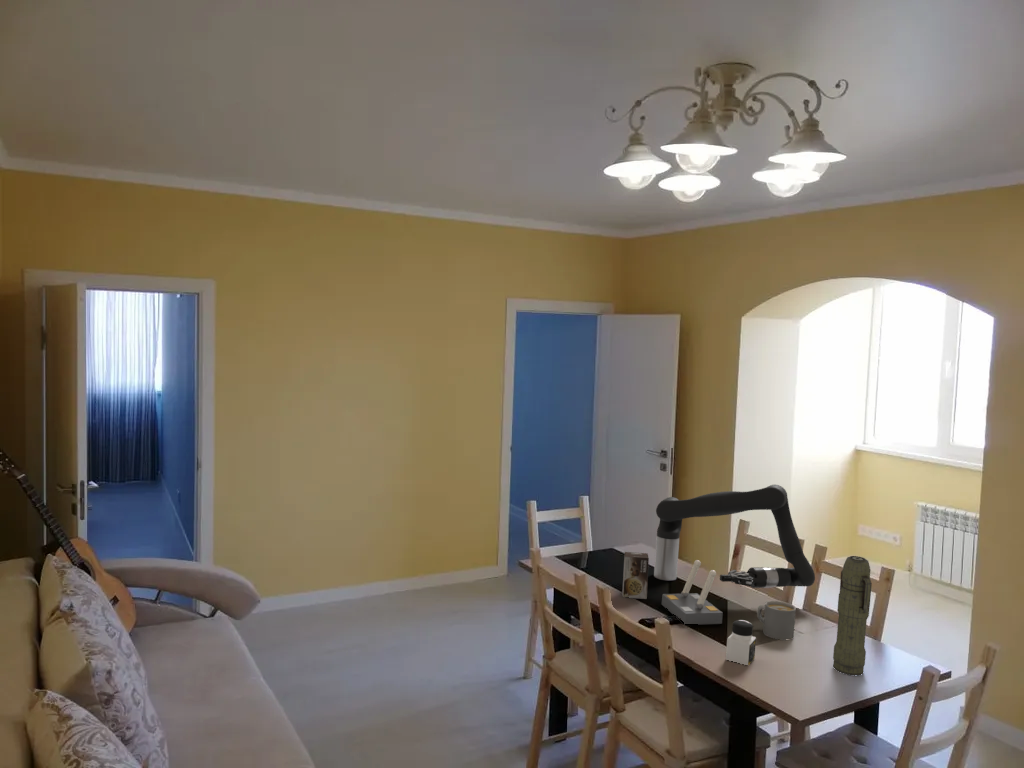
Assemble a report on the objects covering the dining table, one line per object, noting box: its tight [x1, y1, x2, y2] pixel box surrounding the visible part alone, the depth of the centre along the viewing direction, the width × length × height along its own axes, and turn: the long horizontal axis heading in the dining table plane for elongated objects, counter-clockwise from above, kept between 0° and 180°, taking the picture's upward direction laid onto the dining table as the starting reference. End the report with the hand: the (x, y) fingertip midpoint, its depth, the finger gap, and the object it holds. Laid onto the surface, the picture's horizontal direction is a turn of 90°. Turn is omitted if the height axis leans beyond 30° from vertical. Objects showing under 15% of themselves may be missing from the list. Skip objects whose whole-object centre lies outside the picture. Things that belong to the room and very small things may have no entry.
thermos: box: [832, 555, 873, 677], centre depth 237 cm, size 9×12×35 cm
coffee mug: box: [756, 600, 797, 641], centre depth 266 cm, size 13×10×10 cm
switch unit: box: [661, 592, 724, 625], centre depth 280 cm, size 20×14×4 cm
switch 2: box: [696, 569, 717, 609], centre depth 274 cm, size 2×2×14 cm
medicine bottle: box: [725, 619, 757, 667], centre depth 241 cm, size 7×7×12 cm
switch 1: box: [680, 559, 702, 598], centre depth 285 cm, size 2×2×14 cm
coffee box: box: [621, 551, 650, 600], centre depth 296 cm, size 9×6×16 cm
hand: (720, 578), depth 288 cm, fingers closed
